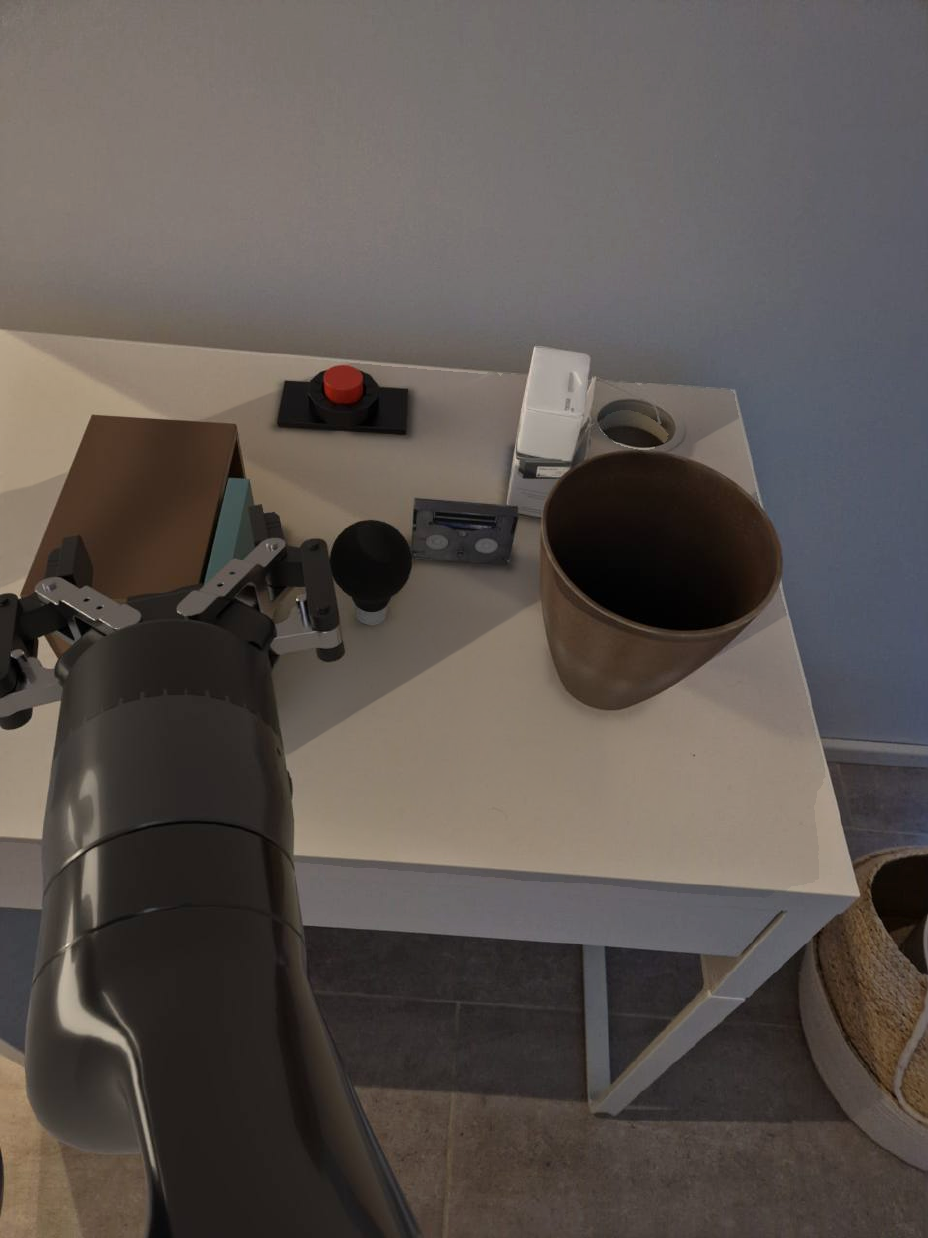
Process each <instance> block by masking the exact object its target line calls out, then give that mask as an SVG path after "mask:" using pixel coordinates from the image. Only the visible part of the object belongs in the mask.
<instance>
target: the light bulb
mask: <svg viewBox="0 0 928 1238" xmlns="http://www.w3.org/2000/svg"><path fill="white" fill-rule="evenodd" d="M329 559H330V564H331V570H332V576H333V581H334V583H335V584H336V585H337V586H338V588H339V589H340V590H341V591H342V592H343V593H344V594H346V595H347V596H348V597H350V598H351V600H352V602H353V603H354V606H355V616H356V618H357V619H358V621H359V622H361V623H363V624H365V625H368V626H374V625H378V624H380V623H382V622H384V620H385V619H386V618H387V616H388V609H389V608H388V605H389V603H390V602H391V600H392V598H393V597H394V596H396V595H397V594H398V593H399V592H400V591H402V590H403V588H404V587H405V585H406V584H407V583H408V581H409V579H410V576H411V573H412V569H413V558H412V553H411V546H410V544H409V542H408V540H407V539H406V537H405V536H404V535H403V534H402V533H401V532H400V531H399V529H397V528H396V527H395V526H394V525H392V524H390V523H387V522H384V521H381V520H377V519H365V520H360V521H357V522H354V523H352V524H350V525H348V526H346V527H345V528H344V529H343V530H342V531H340V533H339V534H338V535H337V536H336V538H335V540H334V542H333V543H332V546H331V549H330V551H329Z"/></svg>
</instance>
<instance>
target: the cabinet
mask: <svg viewBox="0 0 928 1238" xmlns="http://www.w3.org/2000/svg"><path fill="white" fill-rule="evenodd" d="M245 469H246V468H245V464H244V459H243V453H242V447H241V443H240V436H239V430H238V427H237V423H232V422H231V423H230V422H216V421H214V422H213V421H199V420H183V419H182V420H181V419H170V418H169V419H167V418H152V417H151V418H150V417H136V416H118V415H105V414H91V415H90V418H89V421H88V423H87V425H86V428H85V430H84V433H83V436H82V438H81V441H80V443H79V446H78V448H77V451H76V452H75V456H74V458H73V461H72V463H71V466H70V468H69V470H68V473H67V475H66V477H65V480H64V484H63V486H62V488H61V491H60V493H59V496H58V498H57V501H56V503H55V506H54V508H53V511H52V513H51V516H50V518H49V521H48V523H47V526H46V528H45V531H44V533H43V536H42V538H41V541H40V543H39V546H38V549H37V551H36V553H35V556H34V559H33V561H32V564H31V566H30V568H29V571H28V573H27V576H26V578H25V581H24V584H23V586H22V588H21V591H20V593H19V597H20V598H23V597H26V596H29V595H31V594H33V593H35V586H36V584H38V583H39V582H40V581H42V580H44V575H45V570H46V565H47V560H48V555H49V554H50V553H51V552H52V551H53V550H54V549H57V548H61V545H62V540H63V537H67V536H73V535H80V536H81V537H82V540H83V542H84V545H85V547H86V550H87V552H88V555H89V557H90V560H91V563H92V566H93V581H92V589H94V590H96V591H98V592H99V593H101V594H103V595H105V596H106V597H108V598H110V599H112V600H113V601H115V602H117V603H118V604H122V603H125V602H127V597H131V596H136V595H141V594H150V593H166V592H169V591H172V590H175V589H178V588H181V587H184V586H190V585H195V584H200V583H203V586H204V583H205V579H206V574H207V570H208V566H209V561H210V557H211V553H212V548H213V544H214V540H215V535H216V531H217V527H218V522H219V518H220V514H221V509H222V505H223V501H224V496H225V492H226V487H227V483H228V479H229V478H241V479H247V475H246V470H245ZM43 637H44V638H45V640H46V642H47V643H48V645H49V646H50V648H51V650H52V652H53V653H54V655H55V657H56V659H57V660H58V659H59V657H60V656H61V655H62V654H63V653H64V652H65V651H66V650H67V649H68V648H69V647H71V646H72V645H71V644H69V643H67V642H66V641H64V640H63V639H61V638H60V637H58V636H57V635H55V633H54V632H52V633H50V634H47V635H44V636H43Z"/></svg>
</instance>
